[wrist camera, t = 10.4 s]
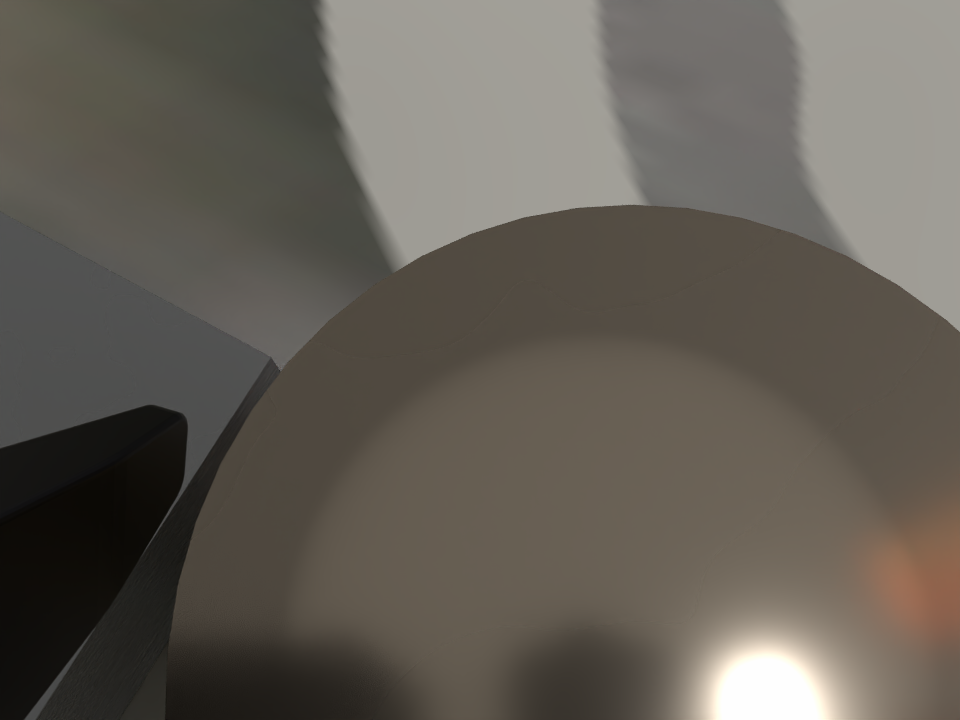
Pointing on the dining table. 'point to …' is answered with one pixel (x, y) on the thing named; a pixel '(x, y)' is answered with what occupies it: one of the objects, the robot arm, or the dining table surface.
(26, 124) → the dining table surface
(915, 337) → the brass plug
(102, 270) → the bore housing
